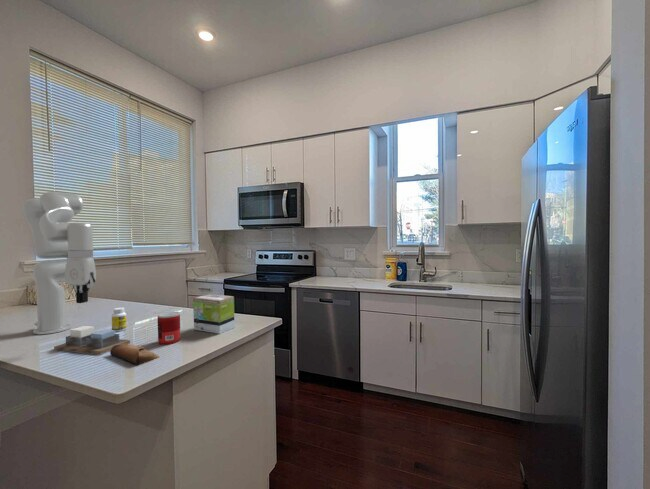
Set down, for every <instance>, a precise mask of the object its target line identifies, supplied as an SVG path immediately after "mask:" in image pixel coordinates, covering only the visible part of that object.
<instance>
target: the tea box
mask: <svg viewBox="0 0 650 489" xmlns="http://www.w3.org/2000/svg"><path fill="white" fill-rule="evenodd" d="M192 299H193V300H192V302H193V329H194V331H201V332H207V333H213V334H217V335H221V334H223V333H226V332H228V331H229V330H232V329H235V296H232V295H224V294H223V295H221V294H212V293H208V294H205V295H201V296H196V297H193V298H192ZM225 331H226V332H225Z"/></svg>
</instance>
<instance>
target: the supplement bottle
mask: <svg viewBox="0 0 650 489" xmlns="http://www.w3.org/2000/svg"><path fill="white" fill-rule="evenodd" d="M111 330H115V333H117V332H122V331H125V330H127V313H126V312H125V307H116V308H113V313H112V315H111Z"/></svg>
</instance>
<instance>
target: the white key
mask: <svg viewBox="0 0 650 489" xmlns="http://www.w3.org/2000/svg"><path fill="white" fill-rule="evenodd" d="M69 332H70V334H69V336H70V337H79V338H81V337H84V336H88V335H91V333H94V332H96V331H95V326H92V325H91V326H90V325H82V326H79V327H76V328H72V329H71V328H70V330H69Z"/></svg>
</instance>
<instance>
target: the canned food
mask: <svg viewBox="0 0 650 489" xmlns="http://www.w3.org/2000/svg"><path fill="white" fill-rule="evenodd" d="M180 340H181V313H180V312H179V311H167V312H163V313H159V314H157V342H158V344H160V345H161V346H162V345H164V346H165V345H167V346H168V345H171V344H172V345H173V344H176V343H178V342H179V341H180Z"/></svg>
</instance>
